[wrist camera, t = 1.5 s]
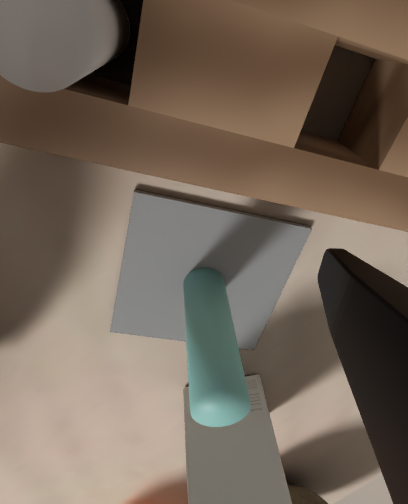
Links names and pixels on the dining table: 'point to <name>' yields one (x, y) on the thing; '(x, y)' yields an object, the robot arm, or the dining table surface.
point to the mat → (201, 265)
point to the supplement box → (235, 457)
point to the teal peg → (213, 352)
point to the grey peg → (59, 40)
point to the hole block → (242, 105)
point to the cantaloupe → (304, 495)
